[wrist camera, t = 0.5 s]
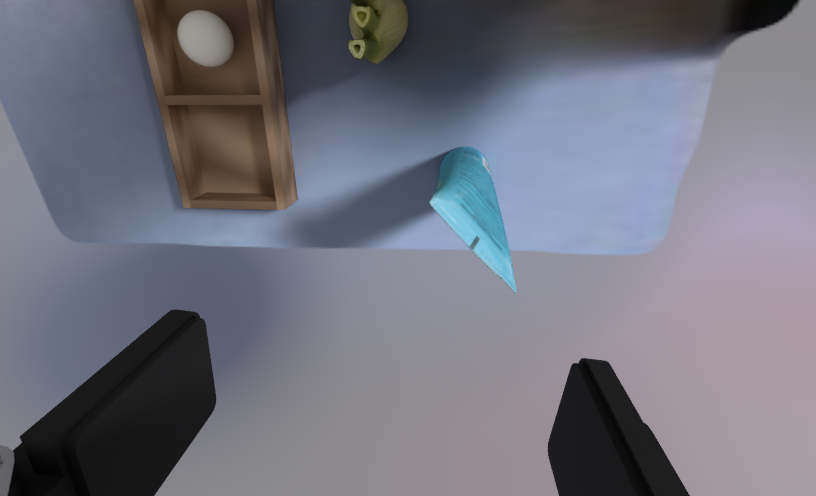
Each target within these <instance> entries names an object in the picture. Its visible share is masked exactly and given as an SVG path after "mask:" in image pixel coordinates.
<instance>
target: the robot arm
mask: <svg viewBox="0 0 816 496" xmlns="http://www.w3.org/2000/svg"><path fill="white" fill-rule="evenodd" d="M215 404H216V393H215V386H214V379H213V372H212V365H211V359H210V352H209V345H208V337H207V331H206V324H205V321H204V320H203V319H202V318H200V316H199V315H198V313H196V312H191V311H183V310H171V311H169V312H168V313H167V314H166V315H165V316H163V317H162V318H161V319H160V320H158V321H157V322H156V323H155V324H154V325H153V326H151V327H150V328H149V329H148V330H146V331H145V332H144V333H143V334H142V335H140V336H139V337H138V338H137V339H136V340H135V341H134V342H132V343H131V344H130V345H129V346H127V347H126V348H125V349H124V350H123V351H122V352H120V353H119V354H118V355H117V356H115V357H114V358H113V359H112V360H111V361H109V362H108V363H107V364H106V365H105V366H104V367H102V368H101V369H100V370H99V371H97V372H96V373H95V374H94V375H93V376H92V377H90V378H89V379H88V380H87V381H86V382H84V383H83V384H82V385H81V386H80V387H78V388H77V389H76V390H75V391H74V392H72V393H71V394H70V395H69V396H68V397H66V398H65V399H64V400H63V401H62V402H60V403H59V404H58V405H57V406H56V407H55V408H53V409H52V410H51V411H50V412H49V413H47V414H46V415H45V416H44V417H43V418H41V419H40V420H39V421H38V422H37V423H35V424H34V425H33V426H32V427H31V428H30V429H28V430H27V431H26V432H25V433H24V434H23V435H21V436H20V438H21V441H22V443H21V444H20V445H19V446H18V447H17V448H15V449H14V450H13V451H12V450H11V449H9V448H8V447H6V446H1V445H0V496H154V495H155V494H156V492H157V491H158V489H159V488H160V487H161V485H162V484H163V482H164V481H165V479H166V478H167V477H168V475H169V474H170V472H171V471H172V469H173V468H174V467H175V465H176V464H177V462H178V461H179V459H180V458H181V457H182V455H183V454H184V452H185V451H186V450H187V448H188V447H189V445H190V444H191V442H192V441H193V440H194V438H195V437H196V435H197V434H198V432H199V431H200V430H201V428H202V427H203V425H204V424H205V422H206V421H207V420H208V418H209V417H210V415H211V414H212V412H213V410H214V408H215ZM548 456H549V460H550V464H551V468H552V471H553V475H554V479H555V482H556V486H557V489H558V493H559V496H690V495H689V494H688V492H687V491H686V489H685V487H684V485H683V483H682V482H681V480H680V478H679V477H678V475H677V473H676V472H675V470H674V468H673V466H672V465H671V463H670V461H669V460H668V458H667V456H666V455H665V453H664V451H663V449H662V448H661V446H660V444H659V442H658V441H657V439H656V437H655V436H654V434H653V432H652V431H651V429H650V428H649V427H648V425H646V424H645V423H643V421H642V419H641V418H640V416H639V414H638V412H637V410H636V409H635V407H634V405H633V404H632V402H631V400H630V398H629V397H628V395H627V393H626V391H625V390H624V388H623V386H622V385H621V383H620V381H619V379H618V378H617V376H616V374H615V372H614V371H613V369H612V367H611V365H610V364H609V363H608V362H607V361H603V360H594V359H586V358H583V359H581V360H580V361H579V363H578V364H577V363H574V364H572V366H571V369H570V372H569V375H568V378H567V382H566V385H565V388H564V392H563V395H562V399H561V402H560V405H559V409H558V412H557V415H556V418H555V422H554V425H553V428H552V432H551V435H550V439H549V442H548Z"/></svg>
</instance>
